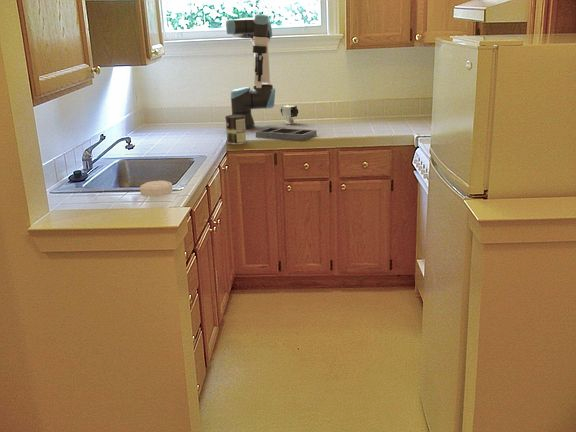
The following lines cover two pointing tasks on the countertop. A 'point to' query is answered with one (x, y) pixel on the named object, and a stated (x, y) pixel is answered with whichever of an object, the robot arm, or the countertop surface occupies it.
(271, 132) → the gray compartment tray
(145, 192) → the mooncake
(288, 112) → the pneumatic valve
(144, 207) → the countertop surface
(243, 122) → the coffee can
